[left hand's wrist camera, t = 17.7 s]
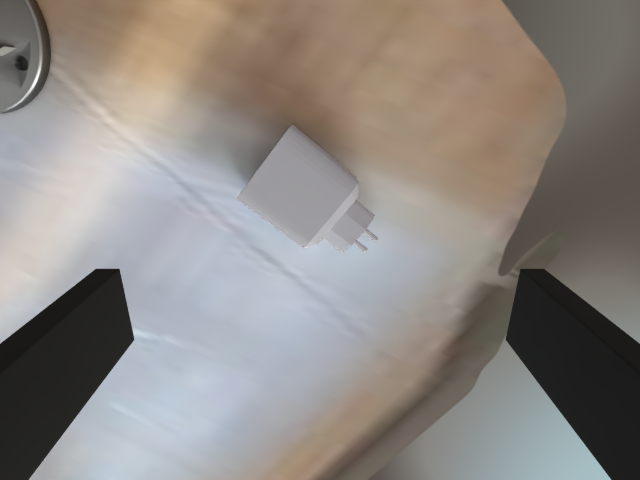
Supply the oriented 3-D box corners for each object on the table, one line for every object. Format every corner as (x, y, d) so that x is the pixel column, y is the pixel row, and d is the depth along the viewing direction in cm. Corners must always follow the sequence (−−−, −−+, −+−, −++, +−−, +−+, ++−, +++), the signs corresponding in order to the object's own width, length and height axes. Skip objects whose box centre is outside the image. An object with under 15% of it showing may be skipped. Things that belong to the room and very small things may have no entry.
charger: (344, 265, 46) (242, 189, 43) (395, 208, 44) (292, 123, 40) (346, 283, 42) (233, 200, 38) (404, 221, 39) (288, 126, 36)
